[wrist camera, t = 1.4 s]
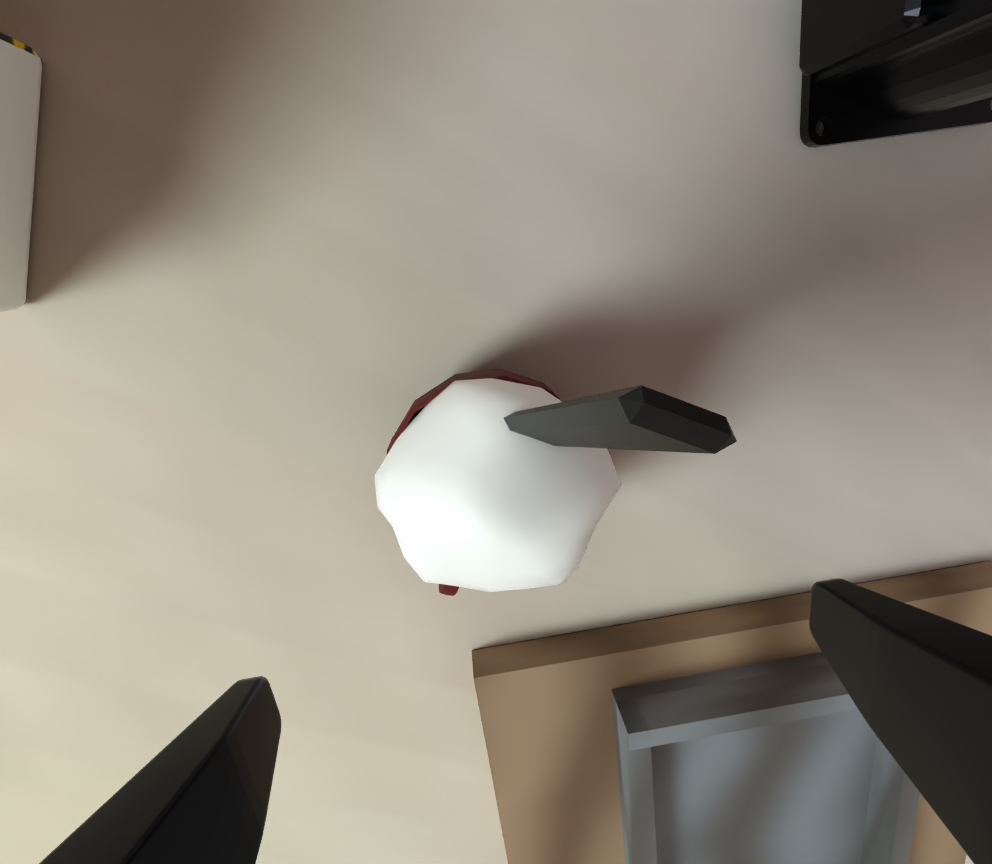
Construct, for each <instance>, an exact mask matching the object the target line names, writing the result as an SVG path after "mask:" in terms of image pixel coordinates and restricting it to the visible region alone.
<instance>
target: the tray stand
mask: <svg viewBox="0 0 992 864" xmlns="http://www.w3.org/2000/svg"><path fill="white" fill-rule="evenodd" d="M856 585H859V586H861V587H864V588H867V589H869V590H872V591H875V592H877V593H880V594H883V595H885V596H888V597H891V598H893V599H896V600H899V601H901V602H904V603H906V604H909V605H912V606H914V607H917V608H920V609H922V610H925V611H928V612H930V613H933V614H936V615H938V616H941V617H944V618H946V619H949V620H952V621H954V622H957V623H960V624H962V625H965V626H968V627H970V628H973V629H975V630H978V631H981V632H983V633H986V634H989V635H991V636H992V562H991V561H986V562H980V563H975V564H969V565H963V566H957V567H952V568H946V569H940V570H934V571H929V572H923V573H917V574H911V575H905V576H900V577H894V578H888V579H882V580H877V581H871V582H865V583H859V584H856ZM810 600H811V592H807V593H802V594H796V595H790V596H784V597H778V598H773V599H767V600H761V601H755V602H750V603H744V604H738V605H732V606H726V607H721V608H715V609H709V610H703V611H698V612H692V613H686V614H680V615H675V616H669V617H663V618H657V619H651V620H646V621H640V622H634V623H628V624H623V625H617V626H611V627H605V628H599V629H594V630H588V631H582V632H576V633H571V634H565V635H559V636H553V637H548V638H542V639H536V640H530V641H524V642H519V643H513V644H507V645H501V646H496V647H490V648H484V649H478V650H472V660H473V675H474V682H475V688H476V693H477V698H478V704H479V709H480V714H481V720H482V725H483V731H484V736H485V741H486V747H487V752H488V757H489V763H490V768H491V773H492V779H493V784H494V790H495V795H496V800H497V806H498V811H499V816H500V822H501V827H502V832H503V838H504V843H505V849H506V854H507V859H508V864H965V859H966V852H965V851H964V850H963V848H962V847H961V846H960V844H959V843H958V842H957V841H956V839H955V838H954V837H953V835H952V834H951V833H950V831H949V830H948V829H947V827H946V826H945V825H944V824H943V822H942V821H941V820H940V818H939V817H938V816H937V814H936V813H935V812H934V810H933V809H932V808H931V807H930V805H929V804H928V803H927V801H926V800H925V799H924V797H923V796H922V795H921V793H920V792H919V791H918V790H917V788H916V787H915V786H914V784H913V783H912V782H911V780H910V779H909V778H908V776H907V775H906V774H905V772H904V771H903V770H902V769H901V767H900V766H899V765H898V763H897V762H896V761H895V759H894V758H893V757H892V755H891V754H890V753H889V752H888V750H887V749H886V748H885V746H884V745H883V744H882V742H881V741H880V740H879V738H878V737H877V736H876V734H875V733H874V732H873V730H872V729H871V728H870V726H869V725H868V723H867V722H866V720H865V719H864V717H863V716H862V714H861V713H860V711H859V710H858V708H857V707H856V705H855V703H854V702H853V700H852V699H851V697H850V695H849V694H848V692H847V691H846V689H845V688H844V686H843V684H842V683H841V681H840V680H839V678H838V676H837V675H836V673H835V672H834V670H833V668H832V667H831V665H830V664H829V662H828V660H827V659H826V657H825V656H824V654H823V653H822V651H821V649H820V648H819V646H818V645H817V643H816V641H815V640H814V638H813V636H812V634H811V631H810V626H809V615H810Z"/></svg>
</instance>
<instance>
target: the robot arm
mask: <svg viewBox="0 0 992 864" xmlns="http://www.w3.org/2000/svg"><path fill="white" fill-rule="evenodd" d="M799 66H800V69H801V71H802V92H801V115H800V137H801V140H802V142H803V143H804V144H805V145H806V146H808V147H814V148H815V147H822V146H829V145H836V144H843V143H851V142H858V141H865V140H872V139H879V138H887V137H894V136H901V135H908V134H915V133H922V132H930V131H937V130H944V129H951V128H958V127H965V126H973V125H980V124H986V123H990V122H992V110H991V109H990V102H991V99H992V0H802V15H801V40H800V64H799ZM818 121H821V122H822V124H823V128H824V129H823V133H822V134H821V135H820V136H819V135H818V134H817V133H816V125H817V122H818ZM809 626H810V631H811V634H812V636H813V638H814V640H815V641H816V643H817V645H818V646H819V648H820V649H821V651H822V653H823V654H824V656H825V657H826V659H827V660H828V662H829V664H830V665H831V667H832V668H833V670H834V672H835V673H836V675H837V676H838V678H839V680H840V681H841V683H842V684H843V686H844V688H845V689H846V691H847V692H848V694H849V695H850V697H851V699H852V700H853V702H854V703H855V705H856V707H857V708H858V710H859V711H860V713H861V714H862V716H863V717H864V719H865V720H866V722H867V723H868V725H869V726H870V728H871V729H872V730H873V732H874V733H875V734H876V736H877V737H878V738H879V740H880V741H881V742H882V744H883V745H884V746H885V748H886V749H887V750H888V752H889V753H890V754H891V755H892V757H893V758H894V759H895V761H896V762H897V763H898V765H899V766H900V767H901V769H902V770H903V771H904V772H905V774H906V775H907V776H908V778H909V779H910V780H911V782H912V783H913V784H914V786H915V787H916V788H917V790H918V791H919V792H920V793H921V795H922V796H923V797H924V799H925V800H926V801H927V803H928V804H929V805H930V807H931V808H932V809H933V810H934V812H935V813H936V814H937V816H938V817H939V818H940V820H941V821H942V822H943V824H944V825H945V826H946V827H947V829H948V830H949V831H950V833H951V834H952V835H953V837H954V838H955V839H956V841H957V842H958V843H959V844H960V846H961V847H962V848H963V850H964V851H965V852H966V854H967V855H968V856H969V858H970V859H971V860H972V861H973V863H974V864H992V636H991V635H989V634H986V633H983V632H981V631H978V630H975V629H973V628H970V627H968V626H965V625H962V624H960V623H957V622H954V621H952V620H949V619H946V618H944V617H941V616H938V615H936V614H933V613H930V612H928V611H925V610H922V609H920V608H917V607H914V606H912V605H909V604H906V603H904V602H901V601H899V600H896V599H893V598H891V597H888V596H885V595H883V594H880V593H877V592H875V591H872V590H869V589H867V588H864V587H861V586H859V585H856V584H853V583H851V582H848V581H846V580H843V579H830V580H824V581H819V582H816V583H815V584H814V585H813V586H812V589H811V600H810V615H809ZM280 733H281V717H280V713H279V710H278V707H277V704H276V701H275V698H274V695H273V692H272V690H271V687H270V684H269V682H268V680H267V679H266V678H265V677H262V676H260V677H254V678H248V679H242V680H239V681H237V682H236V683H235V684H233V685H232V686H231V687H230V688H229V689H228V690H227V691H226V692H225V693H224V694H223V695H222V696H220V697H219V698H218V699H217V700H216V701H215V702H214V703H213V704H212V705H211V706H210V707H209V708H207V709H206V710H205V711H204V712H203V713H202V714H201V715H200V716H199V717H198V718H197V719H196V720H194V721H193V722H192V723H191V724H190V725H189V726H188V727H187V728H186V729H185V730H184V731H183V732H181V733H180V734H179V735H178V736H177V737H176V738H175V739H174V740H173V741H172V742H171V743H170V744H168V745H167V746H166V747H165V748H164V749H163V750H162V751H161V752H160V753H159V754H158V755H157V756H155V757H154V758H153V759H152V760H151V761H150V762H149V763H148V764H147V765H146V766H145V767H143V768H142V769H141V770H140V771H139V772H138V773H137V774H136V775H135V776H134V777H133V778H132V779H130V780H129V781H128V782H127V783H126V784H125V785H124V786H123V787H122V788H121V789H120V790H119V791H117V792H116V793H115V794H114V795H113V796H112V797H111V798H110V799H109V800H108V801H107V802H106V803H104V804H103V805H102V806H101V807H100V808H99V809H98V810H97V811H96V812H95V813H94V814H93V815H91V816H90V817H89V818H88V819H87V820H86V821H85V822H84V823H83V824H82V825H81V826H80V827H78V828H77V829H76V830H75V831H74V832H73V833H72V834H71V835H70V836H69V837H68V838H66V839H65V840H64V841H63V842H62V843H61V844H60V845H59V846H58V847H57V848H56V849H55V850H53V851H52V852H51V853H50V854H49V855H48V856H47V857H46V858H45V859H44V860H43V861H42V862H40V863H39V864H255V863H256V859H257V855H258V852H259V848H260V844H261V840H262V836H263V831H264V826H265V821H266V815H267V810H268V804H269V798H270V792H271V786H272V780H273V774H274V768H275V762H276V757H277V751H278V745H279V739H280Z"/></svg>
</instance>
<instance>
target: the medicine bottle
mask: <svg viewBox="0 0 992 864" xmlns="http://www.w3.org/2000/svg"><path fill="white" fill-rule="evenodd" d="M41 74H42V63H41V59H40V57H39V56H38V55H37V53H36V52H35V51H34V50H33V49H32V48H30V47H29V46H27V45H26V44H24V43H22V42H20V41H18V40H15V39H13V38H11V37H9V36H7V35H5V34H3V33H1V32H0V312H2V311H9V310H16V309H17V308H19V307H21V306H22V305H24V303H25V300H26V289H27V275H28V260H29V246H30V232H31V217H32V203H33V189H34V175H35V160H36V146H37V132H38V117H39V103H40V89H41Z"/></svg>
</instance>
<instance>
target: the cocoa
mask: <svg viewBox="0 0 992 864" xmlns="http://www.w3.org/2000/svg"><path fill="white" fill-rule="evenodd" d="M735 442H736V438H735V436H734V434H733V432H732V430H731V428H730V425H729V423H728V421H727V419H726V417H724V416H722V415H719V414H716V413H714V412H711V411H708V410H706V409H703V408H700V407H698V406H695V405H692V404H690V403H687V402H684V401H682V400H679V399H676V398H674V397H671V396H668V395H666V394H663V393H660V392H658V391H655V390H652V389H649V388H647V387H644V386H636V387H632V388H627V389H622V390H617V391H613V392H608V393H603V394H598V395H593V396H589V397H584V398H579V399H574V400H569V401H565V402H562V401H561V400H560V399H559V398H558V397H557V396H556V395H555V394H554V393H553V392H552V391H551V390H550V389H549V388H548V387H547V386H546V385H545V384H544V383H541V382H538V381H535V380H532V379H529V378H526V377H523V376H520V375H517V374H514V373H511V372H507V371H504V370H501V369H493V370H485V371H477V372H470V373H462V374H455V375H454V376H452V377H450V378H449V379H447V380H446V381H444V382H443V383H441V384H440V385H438V386H437V387H435V388H433V389H432V390H430V391H429V392H427V393H426V394H424V395H423V396H421V397H420V398H418V399H416V400H415V401H414V403H413V404H412V406H411V408H410V409H409V411H408V413H407V414H406V416H405V418H404V419H403V421H402V423H401V424H400V426H399V428H398V430H397V431H396V433H395V435H394V436H393V438H392V440H391V442H390V444H389V447H388V449H387V456H386V458H385V459H384V461H383V463H382V464H381V466H380V468H379V469H378V471H377V472H376V474H375V476H374V477H375V487H376V497H377V506H378V508H379V510H380V511H381V512H382V514H383V515H384V516H385V517H386V519H387V520H388V521H389V522H390V524H391V525H392V526H393V529H394V531H395V534H396V537H397V540H398V542H399V545H400V548H401V550H402V553H403V556H404V558H405V559H406V560H407V561H408V563H409V564H410V565H411V566H412V568H413V569H414V570H415V571H416V572H417V574H418V575H419V576H420V577H421V578H422V580H423V581H424V582H431V583H438V584H439V592H440V593H442V594H445V595H451V596H453V595H455V594H456V593H457V591H458V588H459V587H464V588H470V589H475V590H481V591H487V592H496V591H504V590H518V589H528V588H536V587H544V586H551V585H558V584H561V583H563V582H565V581H566V580H567V578H568V577H569V575H570V574H571V573H572V572H573V571H575V570H576V569H577V568H578V566H579V564H580V561H581V559H582V557H583V554H584V552H585V550H586V547H587V545H588V543H589V540H590V538H591V536H592V533H593V531H594V529H595V526H596V524H597V523H598V521H599V520H600V518H601V516H602V515H603V513H604V512H605V510H606V508H607V507H608V505H609V504H610V502H611V500H612V499H613V497H614V496H615V494H616V493H617V491H618V489H619V488H620V486H621V483H620V480H619V477H618V475H617V472H616V470H615V467H614V465H613V462H612V459H611V457H610V454H609V452H608V449H628V450H650V451H671V452H692V453H713V454H715V453H717V452H719V451H720V450H722V449H724V448H726V447H728V446H729V445H731V444H733V443H735Z"/></svg>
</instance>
